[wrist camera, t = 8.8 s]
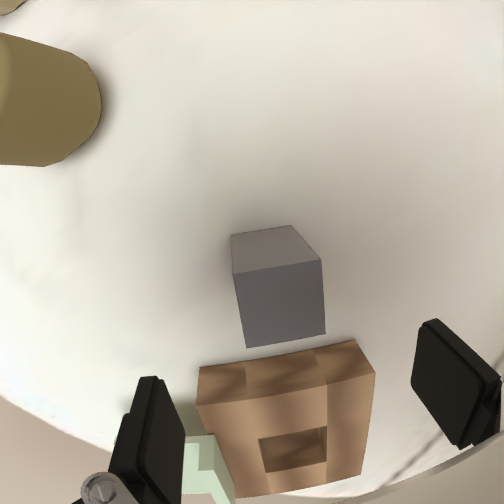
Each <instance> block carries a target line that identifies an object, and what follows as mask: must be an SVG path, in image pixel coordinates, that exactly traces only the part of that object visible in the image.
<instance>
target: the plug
mask: <svg viewBox="0 0 504 504" xmlns="http://www.w3.org/2000/svg"><path fill="white" fill-rule="evenodd" d="M231 251H232V272H233V279H234V284H235V290H236V295H237V301H238V306H239V311H240V317H241V322H242V327H243V333H244V338H245V343H246V348H252V347H258V346H264V345H270V344H276V343H281V342H287V341H292V340H297V339H303V338H308V337H313V336H317V335H322V334H326V332H325V312H324V294H323V279H322V265H321V258H320V257H319V256H318V255H317V254H316V253H315V252H314V250H313V249H312V248H311V247H310V246H309V245H308V244H307V242H306V241H305V240H304V239H303V238H302V237H301V236H300V235H299V233H298V232H297V231H296V230H295V229H294V228H293V227H292V226H291V225H289V226H283V227H277V228H270V229H264V230H258V231H251V232H245V233H239V234H233V235H231Z"/></svg>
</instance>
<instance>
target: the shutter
mask: <svg viewBox="0 0 504 504" xmlns="http://www.w3.org/2000/svg"><path fill="white" fill-rule="evenodd" d="M116 439H117V438H116ZM116 439H115V442H114V445H115V443H116ZM200 493H210V494H211V495H212V497H213V499H214V501H215V502H216V504H235V486H234V483H233V481H232V478H231V476H230V473H229V471H228V468H227V466H226V463H225V461H224V458H223V456H222V453H221V451H220V448H219V446H218V443H217V440H216V438H215V435H214V434H213V435H202V436H188V437H185V449H184V462H183V477H182V494H200Z"/></svg>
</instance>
